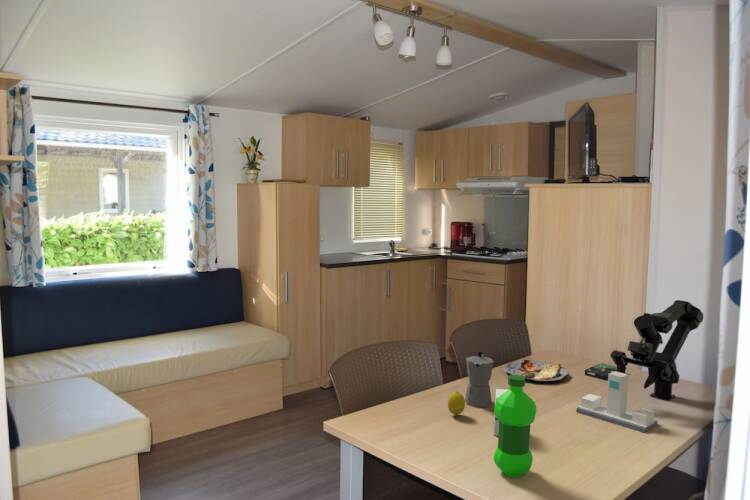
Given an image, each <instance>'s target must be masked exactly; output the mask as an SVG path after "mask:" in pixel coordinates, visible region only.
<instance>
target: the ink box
mask: <svg viewBox="0 0 750 500" xmlns="http://www.w3.org/2000/svg"><path fill="white" fill-rule="evenodd" d="M508 390H509V389H504V388H503V389H501V388H496V389H495V396H494V397H495V398H494V405H495V404H496V401H497V399H498V397H499V396H501V395H502V394H503V393H505V392H506V391H508ZM498 435H499V420H498V418H497V417H496V416H495V412H494V411H493V436H495V437H498Z"/></svg>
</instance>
